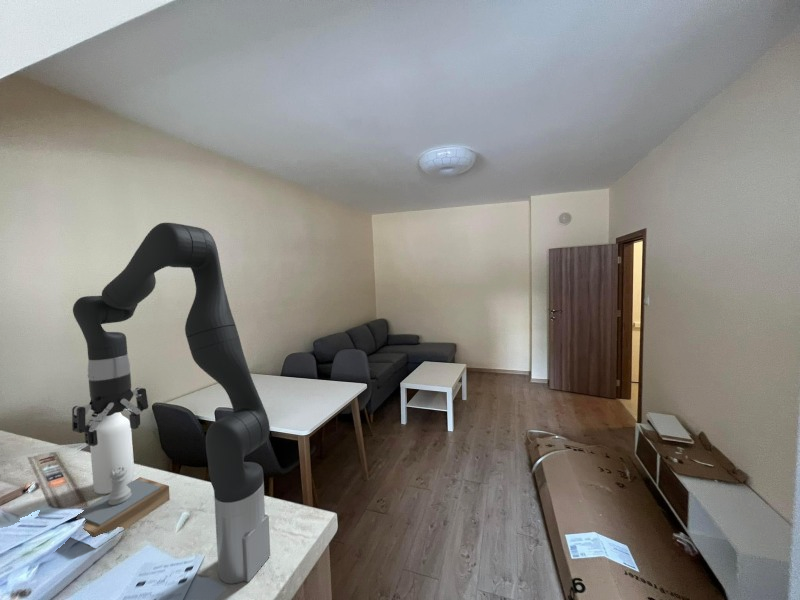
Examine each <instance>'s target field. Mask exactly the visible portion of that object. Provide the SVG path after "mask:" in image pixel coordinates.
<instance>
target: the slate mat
mask: <svg viewBox="0 0 800 600" xmlns="http://www.w3.org/2000/svg"><path fill="white" fill-rule="evenodd" d="M137 479H138V478H136V479H134V480H135V481H134V480H132V481H133V482H131V483H129V484H127V486H128V487H129V488H130V489H131V493H132V494H131V496H130V498H129V499H127V500H126V501H125V502H123V503H120V504H117V505H111V504H109V503H108V501H109V500H108V498H109V496H110V493H109V494H106V495H105V496H106V497H105V496H104V498H103V497H101V498H100V499H98V500H96V501H97V502H96V501H94V502H95V503H94V502H93V503H91V504H89V505H87V506H88V507H87V506H85V507H86V508H85V507H83V508H84V509H83V508H82V509H81V510H84V511H83V512H82V513H80V514H78V515H77V517H79V518H85V519H87V521H88V522H91V523H93V524H96V525H98V526H101V525H103V524H105V523H106V522H108V521H109V520H111V519H113V518H114V517H116V516H117V515H119V514H121V513H122V512H124V511H125V510H127V509H129V508H130V507H132V506H134V505H135V504H137V503H138V502H140V501H142V500H143V499H145V498H146V497H148V496H150V495H151V494H153V493H154V492H156V491H158V490H159V489H161V487H159V486H156V485H153V484H149V483H146V482H143V481H140V480H137Z"/></svg>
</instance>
